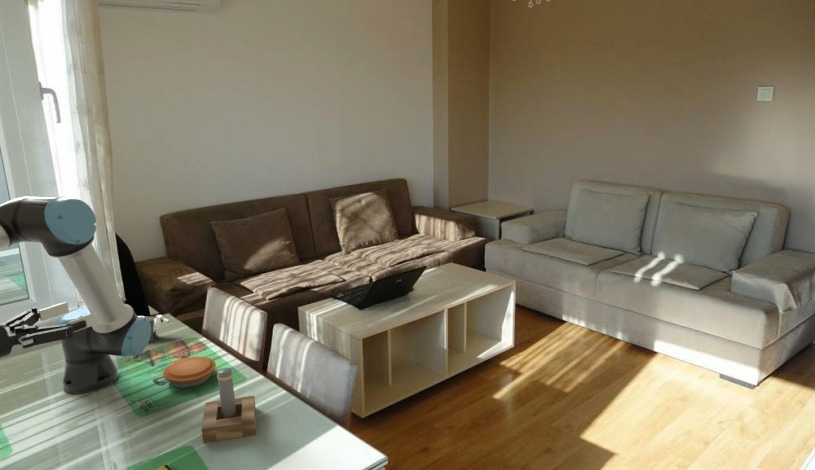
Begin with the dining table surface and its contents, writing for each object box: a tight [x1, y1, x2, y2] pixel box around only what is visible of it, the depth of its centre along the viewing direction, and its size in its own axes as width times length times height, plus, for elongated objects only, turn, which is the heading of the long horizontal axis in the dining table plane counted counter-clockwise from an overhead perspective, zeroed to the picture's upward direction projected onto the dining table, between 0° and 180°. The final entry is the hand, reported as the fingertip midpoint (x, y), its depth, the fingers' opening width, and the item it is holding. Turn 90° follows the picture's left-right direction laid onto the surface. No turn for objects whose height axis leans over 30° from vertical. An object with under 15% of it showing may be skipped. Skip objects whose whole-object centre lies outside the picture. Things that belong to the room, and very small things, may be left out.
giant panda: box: [136, 313, 170, 343], centre depth 207 cm, size 15×6×10 cm, turn 97°
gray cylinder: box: [216, 367, 237, 419], centre depth 153 cm, size 4×4×16 cm
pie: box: [162, 356, 217, 389], centre depth 179 cm, size 15×16×5 cm
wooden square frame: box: [201, 395, 257, 444], centre depth 154 cm, size 13×13×4 cm
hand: (82, 312), depth 142 cm, fingers open, 13 cm apart
